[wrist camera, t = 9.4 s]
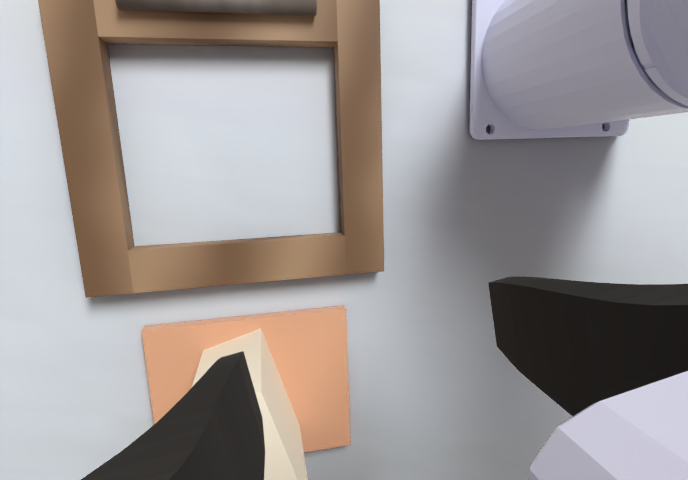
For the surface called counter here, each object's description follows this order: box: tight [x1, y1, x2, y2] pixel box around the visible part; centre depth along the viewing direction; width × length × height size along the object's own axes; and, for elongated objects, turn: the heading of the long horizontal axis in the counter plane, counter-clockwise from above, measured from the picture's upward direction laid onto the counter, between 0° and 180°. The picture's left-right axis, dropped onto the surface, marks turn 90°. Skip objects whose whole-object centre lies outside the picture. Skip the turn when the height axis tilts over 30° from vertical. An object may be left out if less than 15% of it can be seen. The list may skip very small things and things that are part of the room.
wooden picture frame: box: [38, 0, 384, 297], centre depth 19 cm, size 14×13×2 cm
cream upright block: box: [192, 329, 308, 480], centre depth 18 cm, size 3×6×6 cm, turn 18°
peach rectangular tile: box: [142, 306, 351, 452], centre depth 22 cm, size 10×8×1 cm
